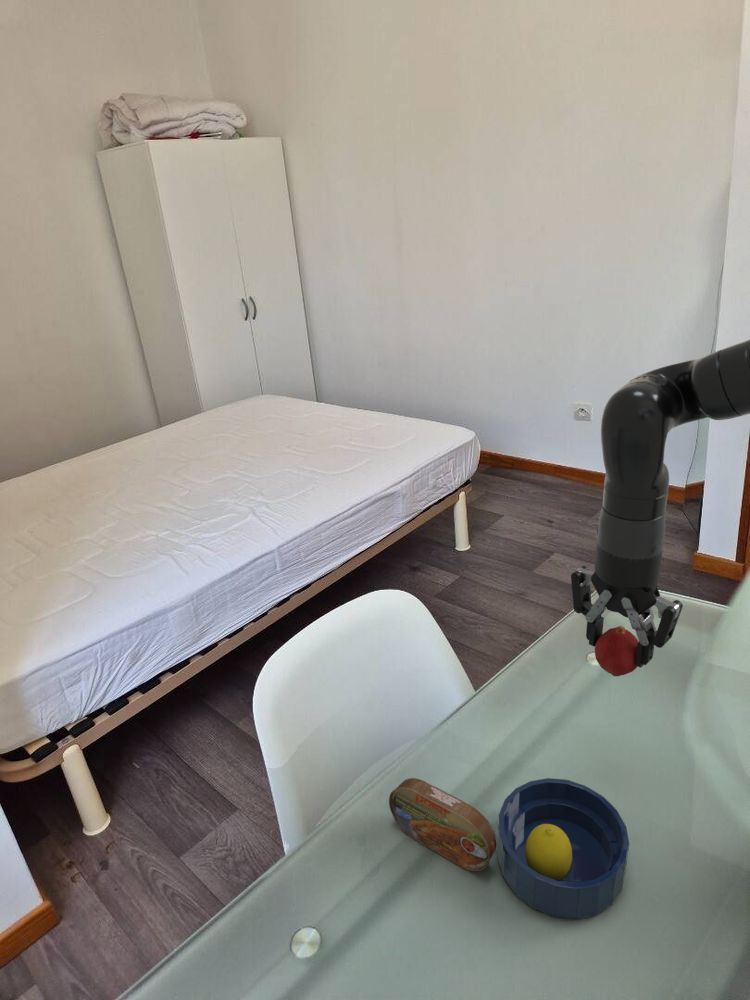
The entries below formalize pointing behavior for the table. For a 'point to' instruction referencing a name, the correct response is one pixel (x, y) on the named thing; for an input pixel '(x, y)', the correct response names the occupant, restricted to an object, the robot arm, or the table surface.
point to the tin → (443, 824)
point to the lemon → (549, 851)
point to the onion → (616, 651)
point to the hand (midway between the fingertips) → (617, 652)
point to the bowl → (592, 842)
